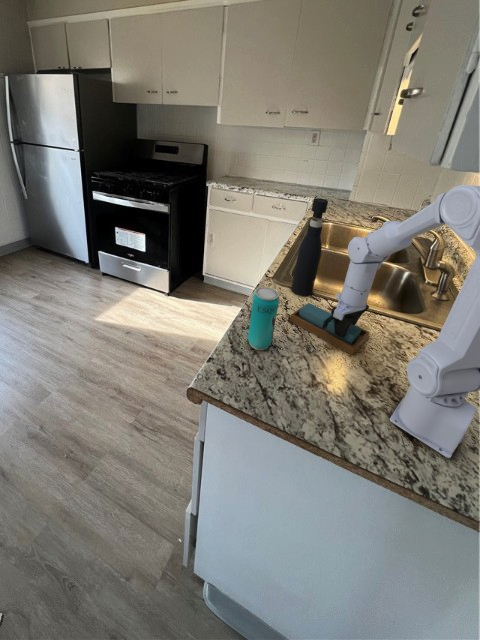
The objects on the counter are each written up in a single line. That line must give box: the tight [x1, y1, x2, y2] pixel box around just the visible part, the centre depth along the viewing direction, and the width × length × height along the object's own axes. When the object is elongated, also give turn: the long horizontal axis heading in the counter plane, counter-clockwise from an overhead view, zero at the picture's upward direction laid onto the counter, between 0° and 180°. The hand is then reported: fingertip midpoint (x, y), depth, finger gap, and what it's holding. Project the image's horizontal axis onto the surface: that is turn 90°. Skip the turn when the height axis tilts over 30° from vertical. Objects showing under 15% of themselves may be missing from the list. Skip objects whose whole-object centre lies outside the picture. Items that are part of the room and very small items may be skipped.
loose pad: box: [326, 319, 362, 345], centre depth 80 cm, size 6×4×3 cm
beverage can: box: [247, 286, 280, 351], centre depth 74 cm, size 6×6×15 cm
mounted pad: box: [299, 302, 332, 329], centre depth 85 cm, size 7×4×3 cm, turn 41°
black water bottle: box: [291, 197, 329, 297], centre depth 94 cm, size 6×6×30 cm
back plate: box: [289, 304, 371, 356], centre depth 83 cm, size 17×9×2 cm, turn 41°
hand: (343, 330), depth 80 cm, fingers closed on loose pad, 4 cm apart
